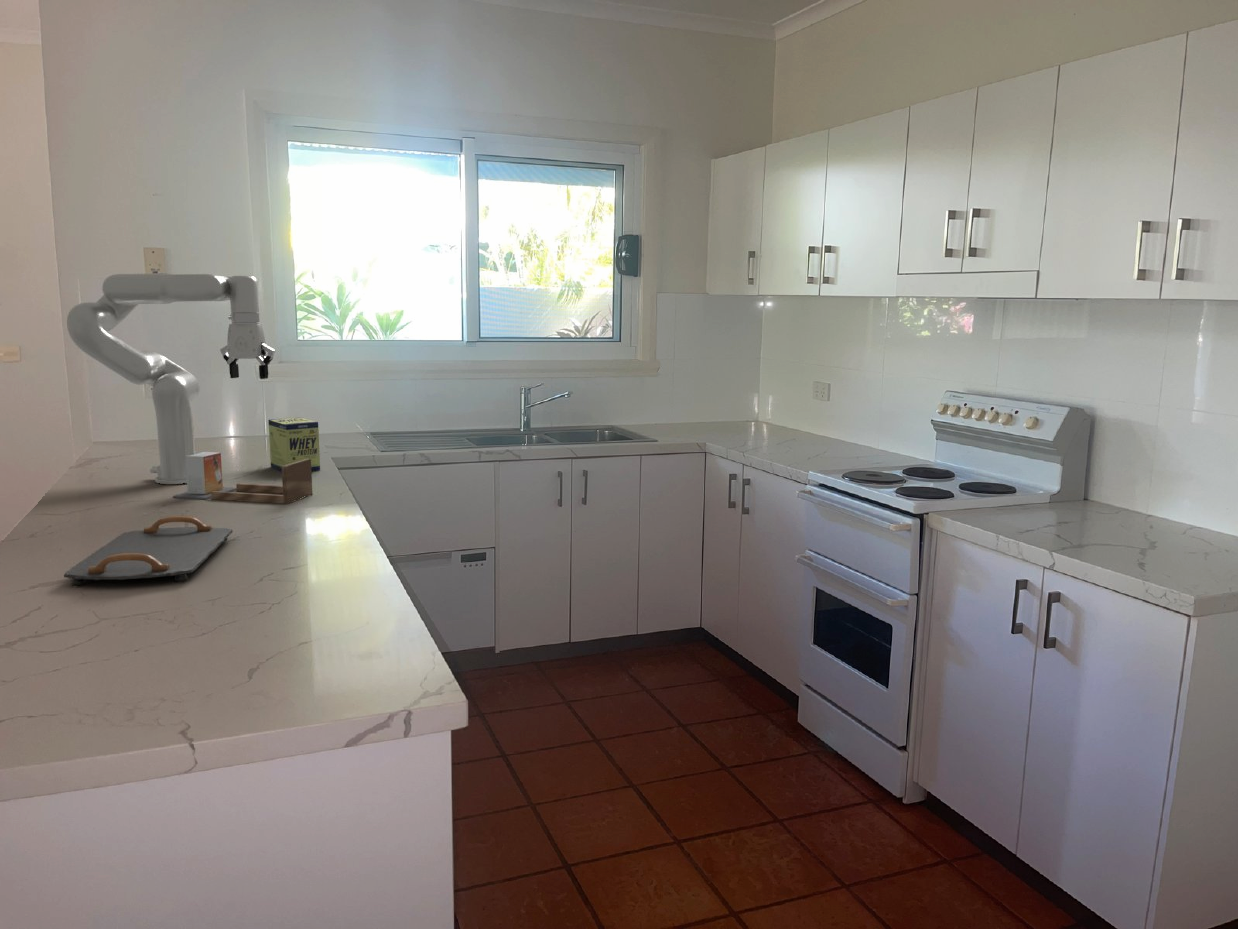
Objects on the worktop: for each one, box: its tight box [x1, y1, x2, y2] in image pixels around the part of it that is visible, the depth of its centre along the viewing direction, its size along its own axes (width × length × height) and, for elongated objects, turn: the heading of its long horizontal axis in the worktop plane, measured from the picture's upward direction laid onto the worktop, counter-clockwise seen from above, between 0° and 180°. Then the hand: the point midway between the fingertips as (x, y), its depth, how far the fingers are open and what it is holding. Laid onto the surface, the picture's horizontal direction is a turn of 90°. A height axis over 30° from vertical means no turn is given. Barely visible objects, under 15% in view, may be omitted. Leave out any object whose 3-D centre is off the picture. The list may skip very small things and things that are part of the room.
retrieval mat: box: [172, 486, 237, 501], centre depth 252 cm, size 10×14×1 cm
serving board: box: [63, 515, 233, 587], centre depth 186 cm, size 39×23×6 cm, turn 10°
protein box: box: [268, 417, 321, 472], centre depth 290 cm, size 10×16×16 cm
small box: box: [185, 451, 224, 494], centre depth 251 cm, size 8×6×10 cm
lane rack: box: [210, 459, 313, 504], centre depth 248 cm, size 23×12×10 cm, turn 78°
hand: (249, 378), depth 267 cm, fingers open, 9 cm apart
